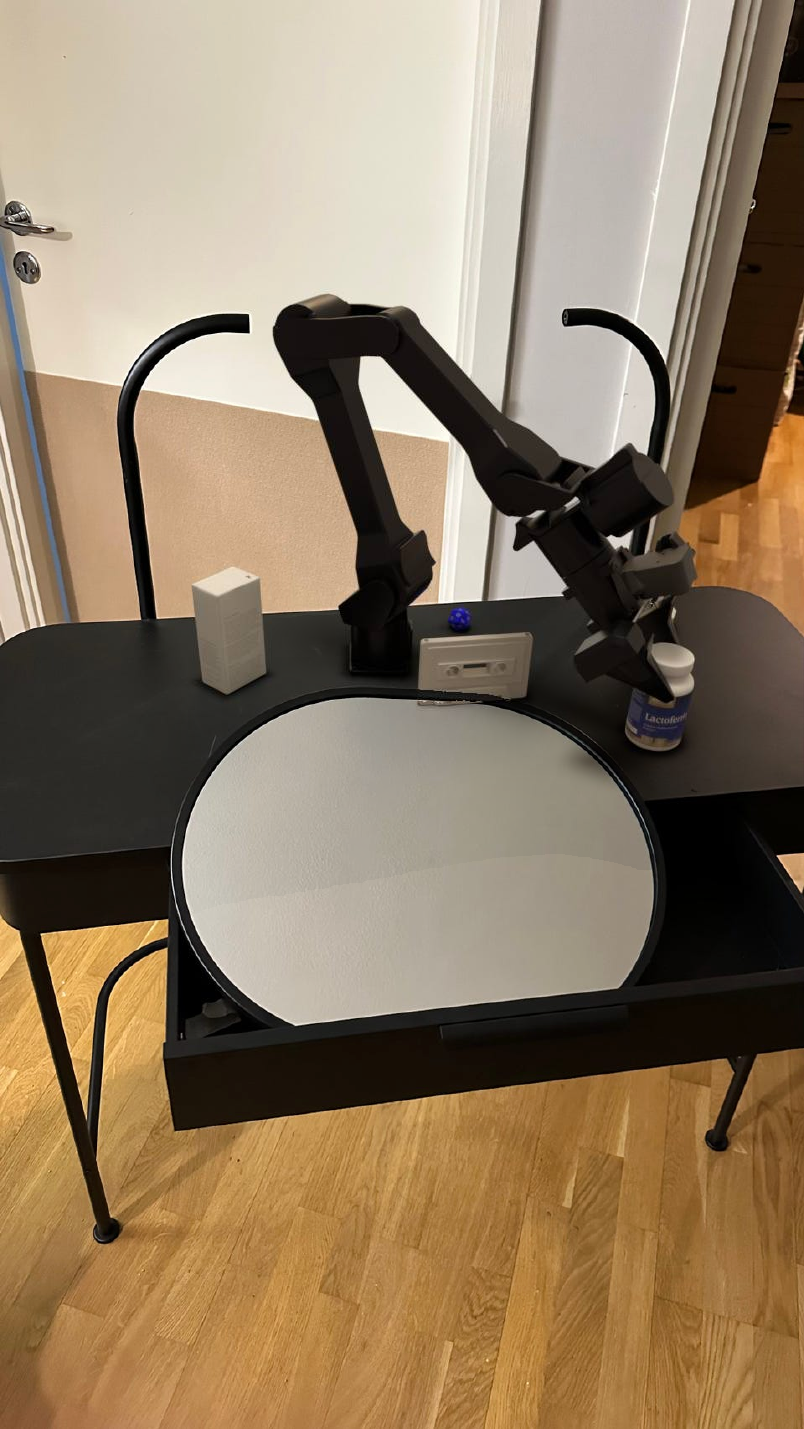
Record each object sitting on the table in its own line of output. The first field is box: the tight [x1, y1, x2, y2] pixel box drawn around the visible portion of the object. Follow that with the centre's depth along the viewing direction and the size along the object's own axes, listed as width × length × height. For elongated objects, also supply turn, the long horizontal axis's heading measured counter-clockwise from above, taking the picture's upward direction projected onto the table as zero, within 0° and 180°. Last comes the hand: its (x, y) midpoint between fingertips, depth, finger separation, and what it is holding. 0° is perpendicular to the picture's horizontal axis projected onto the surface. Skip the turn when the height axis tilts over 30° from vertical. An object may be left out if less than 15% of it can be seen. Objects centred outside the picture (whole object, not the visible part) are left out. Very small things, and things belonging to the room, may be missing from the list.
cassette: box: [417, 631, 534, 706], centre depth 104 cm, size 12×2×8 cm, turn 100°
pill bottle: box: [624, 643, 696, 752], centre depth 98 cm, size 6×6×10 cm
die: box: [447, 606, 473, 632], centre depth 119 cm, size 3×3×3 cm
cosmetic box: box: [191, 566, 267, 695], centre depth 105 cm, size 6×4×12 cm
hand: (677, 686), depth 97 cm, fingers closed on pill bottle, 6 cm apart
